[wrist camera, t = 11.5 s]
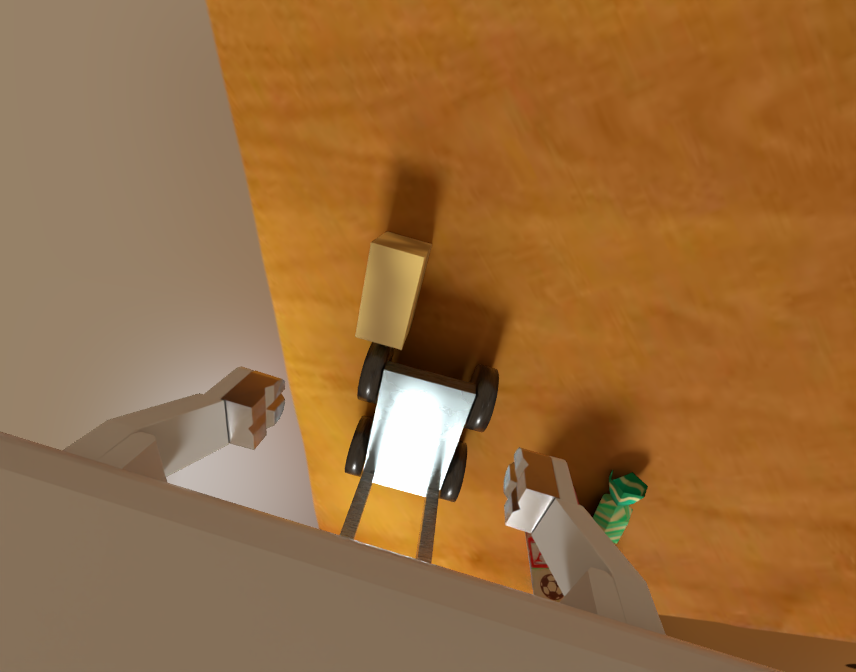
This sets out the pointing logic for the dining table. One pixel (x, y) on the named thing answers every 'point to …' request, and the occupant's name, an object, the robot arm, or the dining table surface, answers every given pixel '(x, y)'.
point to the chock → (391, 288)
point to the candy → (619, 504)
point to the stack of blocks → (542, 572)
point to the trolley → (415, 435)
